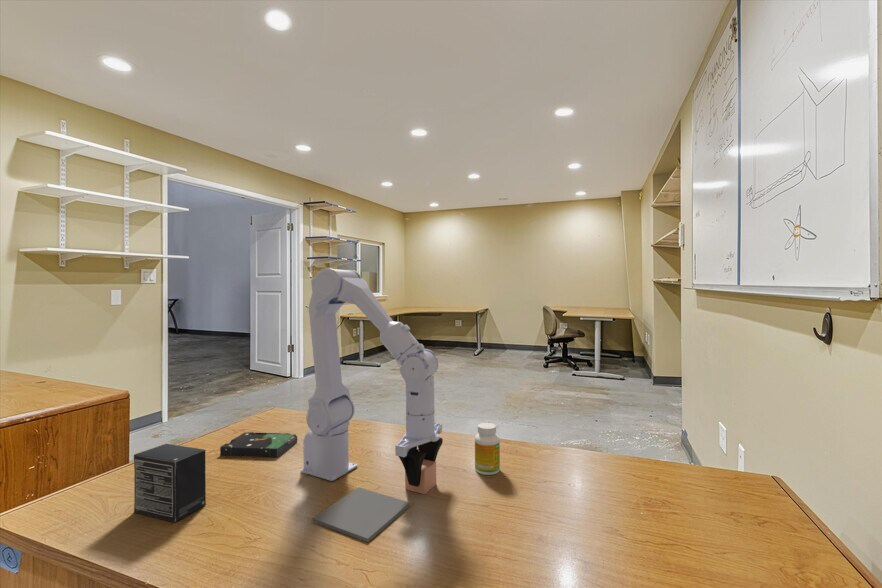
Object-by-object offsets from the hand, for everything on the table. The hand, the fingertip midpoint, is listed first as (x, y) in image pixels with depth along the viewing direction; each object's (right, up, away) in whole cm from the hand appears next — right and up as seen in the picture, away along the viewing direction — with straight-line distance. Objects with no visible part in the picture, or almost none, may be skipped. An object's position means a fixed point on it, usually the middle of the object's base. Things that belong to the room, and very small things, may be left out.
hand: (420, 479), depth 80 cm
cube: (0, -1, 0) cm, 1 cm away
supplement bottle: (+14, -2, +7) cm, 16 cm away
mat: (-10, -2, -10) cm, 14 cm away
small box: (-45, -2, -7) cm, 46 cm away
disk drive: (-41, -2, +20) cm, 46 cm away
